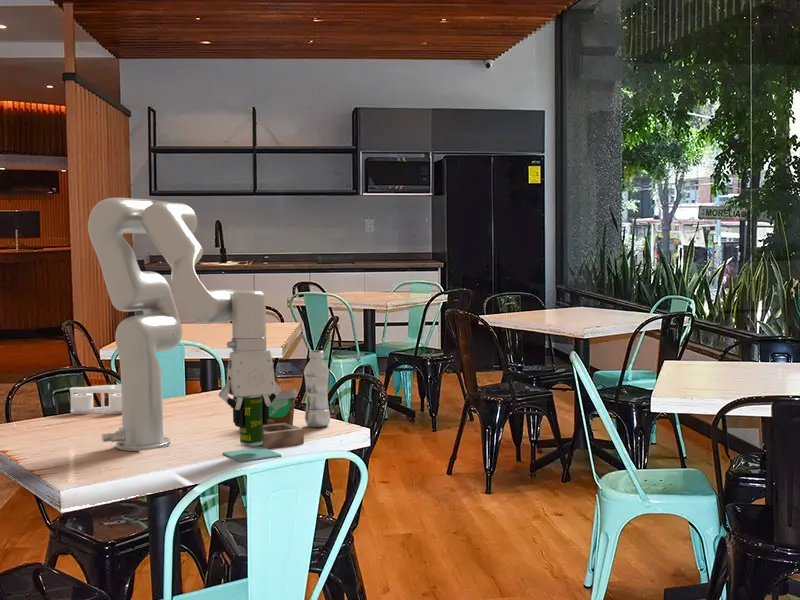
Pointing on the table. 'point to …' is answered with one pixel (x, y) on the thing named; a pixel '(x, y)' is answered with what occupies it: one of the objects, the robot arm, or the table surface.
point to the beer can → (252, 421)
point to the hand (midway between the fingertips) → (251, 424)
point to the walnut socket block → (282, 435)
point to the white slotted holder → (84, 399)
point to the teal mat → (251, 454)
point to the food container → (282, 408)
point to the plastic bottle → (317, 390)
